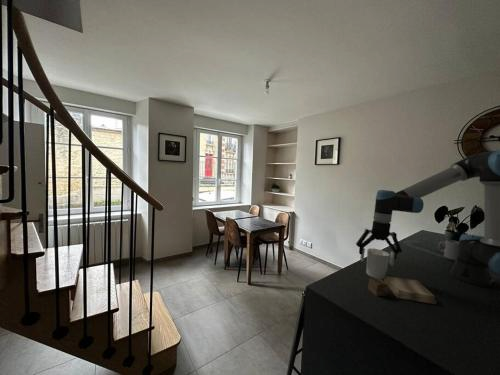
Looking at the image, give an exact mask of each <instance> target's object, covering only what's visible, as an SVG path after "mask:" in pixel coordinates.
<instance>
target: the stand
mask: <svg viewBox="0 0 500 375" xmlns="http://www.w3.org/2000/svg"><path fill="white" fill-rule="evenodd" d="M383 281H384V282H385V283H387V284H388V289H390V291H391V293H393V294H394V296H395V297H396V298H397V299H402V300H408V301H414V302H420V303H426V304H433V305H437V300H436V299H435V295H434V294H433V293H432V292H431V291H430V290H428V289H427V288H426V287H425V286H424V285H423V284H422V283H421V282H420V281H419V280H416V279H410V278H409V279H408V278H403V277H396V276H391V275H390V276H388V275H386V276H385V278H384V279H383Z"/></svg>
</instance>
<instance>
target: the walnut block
mask: <svg viewBox="0 0 500 375" xmlns="http://www.w3.org/2000/svg"><path fill="white" fill-rule="evenodd" d="M388 289H389V287H388V284H387V283H385V282H384V279H380V278H373V277H371V278H370V277H369V278H368V286H367V290H368V291H369V292H371V293H372V294H373V295H374V296H376V297H377V296H383V297H384V296H385V297H386V296H387V295H388Z"/></svg>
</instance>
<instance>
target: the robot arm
mask: <svg viewBox="0 0 500 375" xmlns="http://www.w3.org/2000/svg"><path fill="white" fill-rule="evenodd" d="M473 178H478V179H479V184H480V183H481V184H482V185H483V186H484V191H483V192H484V194H483V195H484V196H483V197H484V205H483V206H484V212H483V213H484V236H483V235H476V234H467V233H466V234H465V233H463V234H461V235H460V237H459V248H458V254H457V260H455V262H454V263H453V265H452V267H451V268H450V270H449V274H450V275H451V276H452V277H453V278H455V279H457V280H460V281H463V282H464V283H467V284H470V285H471V284H472V285H475V286H480V287H491V286H492V281H493V280H492V277H491V274H490V273H491V272H490V270H491V271H492V272H495V273H497V274H499V275H500V150H494V151H493V150H492V151H491V150H490V151H484V152H483V151H481V152H476V153H474V154H471V155H469V156H467V157H465V158H462V159H460V160H459V161H457V162H454V163H452V164H450V167H449V168H446V169H444V170H442V171H440V172H438V173H436V174H433V175H431V176H429V177H427V178H425V179H422V180H420V181H418V182H415V184H412V185H410V186H407V187H406V188H403V189H401V190H399V191H397V192H395V191H394V190H385V189H379V190H377V192H376V196H375V204H374V213H373V217H372V218H373V220H372V226H371V229H369V228H364V231H363V233H362V235H361V236H360V238H359V239H358V240H357V241H356V242H355V245H356V246H357V247H358V248H359V249H358V250H359V251H358V253H359V255H360V256H359V260H360V261H361V262H364V259H365V258H364V257H365V251H366V248H365V247H366V246H368V245H369V244H370V243H371V242H373V241H374V240H376V241H385V242H386V243H387V245H388V246H389V248H390V249H391V251H390V253H389V254H390V257H389V262H388V265H390V266H391V267H394V263H395V262H394V261H395V260H397V255H398V254H400V253H402V252H403V250H402V248H401V245H400V243H399V239H398V236H397V235H398V234H397V233H396V232H395V231H392V232H391V222H392V217H393V211H395V212H404V213H412V214H419V213H421V212H423V210H424V200H423V198H424V197H426V196H429V195H430V194H433V193H435V192H437V191H439V190H441V189H444V188H446V187H448V186H451V185H452V184H455V183H457V182H460V181H461V182H463V181H467V180H469V179H473ZM370 234H371V235H370ZM368 235H369V237H368ZM367 237H368V238H367ZM389 237H391V238H392V240H393V243H394V245H395V246H394V245H393V243H392V242H391V240H390V239H389ZM490 285H491V286H490Z"/></svg>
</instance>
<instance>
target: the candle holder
mask: <svg viewBox="0 0 500 375" xmlns="http://www.w3.org/2000/svg"><path fill="white" fill-rule="evenodd" d="M366 252H367V253H366V268H365V269H366V270H365V273H366V275H368V276H369V277H371V278H380V279H381V280H384V278H386V276H387V271H388V266H389V261H390V254H391V253H390V252H387V251H385V250H383V249H378V248H368V249H367V250H366Z"/></svg>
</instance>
